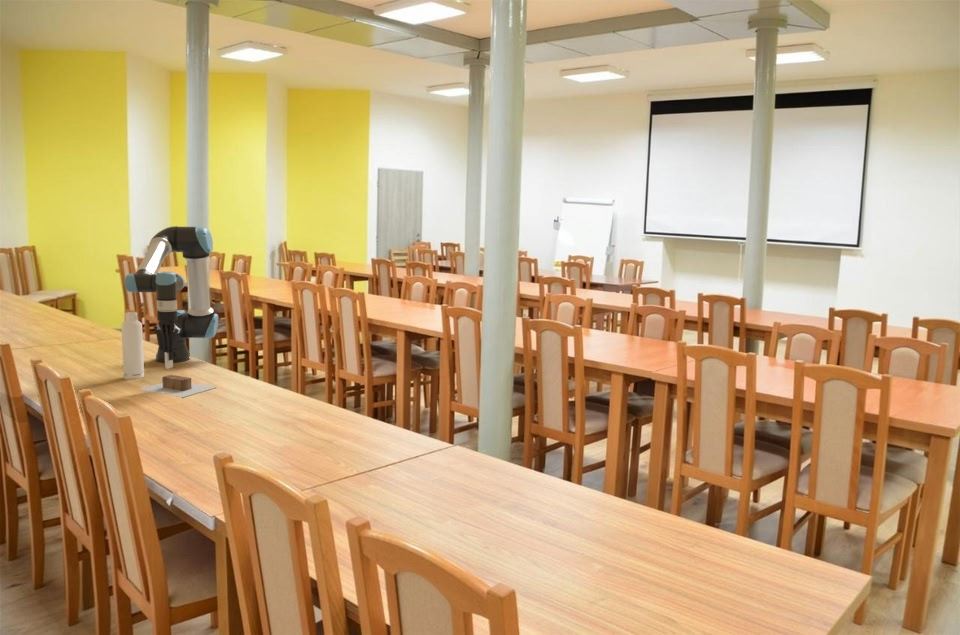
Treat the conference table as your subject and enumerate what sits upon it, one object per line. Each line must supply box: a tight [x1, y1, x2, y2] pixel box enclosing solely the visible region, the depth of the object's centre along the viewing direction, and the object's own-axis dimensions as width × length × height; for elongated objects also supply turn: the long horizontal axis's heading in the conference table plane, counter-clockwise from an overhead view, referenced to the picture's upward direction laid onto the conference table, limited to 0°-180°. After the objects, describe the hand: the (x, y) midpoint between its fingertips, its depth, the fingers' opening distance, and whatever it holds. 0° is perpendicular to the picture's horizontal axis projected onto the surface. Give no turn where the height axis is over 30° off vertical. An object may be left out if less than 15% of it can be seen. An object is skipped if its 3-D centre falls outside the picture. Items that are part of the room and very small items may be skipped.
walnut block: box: [162, 374, 192, 391], centre depth 306 cm, size 4×4×11 cm
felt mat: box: [138, 382, 217, 399], centre depth 307 cm, size 18×24×1 cm
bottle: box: [121, 311, 145, 380], centre depth 322 cm, size 8×8×28 cm
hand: (169, 367), depth 307 cm, fingers closed
